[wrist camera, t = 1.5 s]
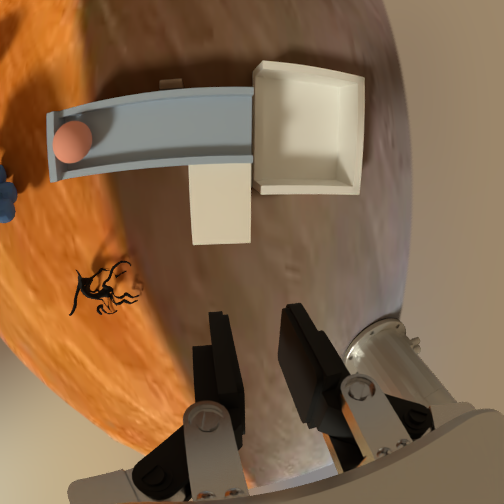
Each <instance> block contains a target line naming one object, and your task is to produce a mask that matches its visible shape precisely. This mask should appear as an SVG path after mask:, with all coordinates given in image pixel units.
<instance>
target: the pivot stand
mask: <svg viewBox="0 0 504 504" xmlns="http://www.w3.org/2000/svg"><path fill="white" fill-rule="evenodd" d="M175 89H184V85H183V81H182V78H181V79H168V80H160V84H159V90H160V91H165V90H175Z"/></svg>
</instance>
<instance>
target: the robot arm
mask: <svg viewBox="0 0 504 504" xmlns="http://www.w3.org/2000/svg"><path fill="white" fill-rule="evenodd" d="M208 313H209V323H210V333H211V342H212V345H206V346H193V348H192V349H193V372H194V389H195V403H194V404H192V405H191V406H190V407H188V408H187V409H186V411H185V413H184V416H183V425H182V426H181V427H180V428H179V429H178V430H177V431H176V432H174V433H173V434H172V435H171V436H170V437H169V438H167V439H166V440H165V441H164V442H163V443H161V444H160V445H159V446H158V447H157V448H155V449H154V450H153V451H152V452H150V453H149V454H148V455H147V456H145V457H144V458H143V459H142V460H140V461H139V462H138V463H137V464H136V465H135V466H134V468H132V469H129V470H126V471H124V470H123V469H121V470H118V471H114V472H111V473H106V474H102V475H98V476H94V477H89V478H85V479H80V480H77V481H74V482H72V483H71V484H70V485H69V488H68V491H67V493H68V498H69V501H70V504H504V415H502V414H501V413H500V412H499V411H497V410H494V409H478V410H475V408H474V406H473V405H472V404H470V403H467V402H459V403H457V401H456V400H455V399H454V398H453V397H452V396H451V394H450V393H449V392H448V390H447V389H446V388H445V387H444V386H443V385H442V383H441V382H440V381H439V379H438V378H437V377H436V376H435V375H434V373H432V371H431V370H430V369H429V367H428V366H427V365H426V364H425V363H424V362H423V361H422V359H421V358H420V357H419V356H418V354H419V353H420V351H421V348H420V346H419V345H418V344H419V343H420V339H419V337H416V338H413V339H411V340H410V339H409V338H408V337H407V336H406V329H405V326H404V325H403V324H402V323H401V322H400V321H399V320H397V319H393V318H390V319H384V320H381V321H378V322H376V323H374V324H372V325H371V326H369V327H368V328H366V329H365V330H364V331H362V332H361V333H360V334H359V335H358V336H357V337H356V338H355V339H354V340H353V342H352V343H351V344H350V346H349V347H348V349H347V351H346V353H345V356H344V361H342V360H341V358H340V356H339V355H338V353H337V351H336V350H335V348H334V347H333V345H332V343H331V342H330V340H329V338H328V337H327V335H326V334H325V332H324V331H322V330H321V331H318V330H317V329H316V327H315V325H314V324H313V322H312V320H311V319H310V317H309V315H308V314H307V312H306V310H305V309H304V307H303V305H302V304H301V303H295V304H287V306H286V308H283V309H282V315H281V326H280V337H279V347H278V361H279V364H280V367H281V369H282V372H283V374H284V377H285V380H286V382H287V385H288V388H289V390H290V393H291V395H292V398H293V401H294V403H295V406H296V408H297V411H298V414H299V416H300V419H301V421H302V423H307V425H308V428H309V429H311V428H315V427H317V429H318V431H320V432H322V433H323V437H324V439H325V442H326V444H327V447H328V449H329V452H330V454H331V457H332V459H333V462H334V464H335V467H336V469H337V472H338V475H336V476H332V477H329V478H326V479H323V480H320V481H316V482H313V483H309V484H305V485H302V486H298V487H294V488H289V489H285V490H281V491H276V492H271V493H265V494H260V495H253V496H250V495H249V492H248V488H247V484H246V481H245V477H244V473H243V469H242V465H241V461H240V457H239V453H238V450H239V449H240V448H241V447H242V446H243V444H242V435H243V434H245V396H244V387H243V382H242V378H241V373H240V369H239V364H238V360H237V355H236V351H235V346H234V341H233V336H232V332H231V327H230V322H229V317H228V314H227V315H223V313H222V311H219V312H208ZM343 362H344V363H343ZM191 498H192V499H193V501H189V500H190V499H191Z"/></svg>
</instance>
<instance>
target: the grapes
mask: <svg viewBox="0 0 504 504" xmlns="http://www.w3.org/2000/svg"><path fill="white" fill-rule="evenodd" d="M6 178H7V176H6V171H5V169H4V167H3V165H0V223H7V222H10V221H11V220H12V219H13V218H14V217H15V212H16V211H15V207H14V204H13V203H14V202H15V201H16V200H17V196H18V194H17V189H16V187H15V185H14V184H13V183H11V182H6Z"/></svg>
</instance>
